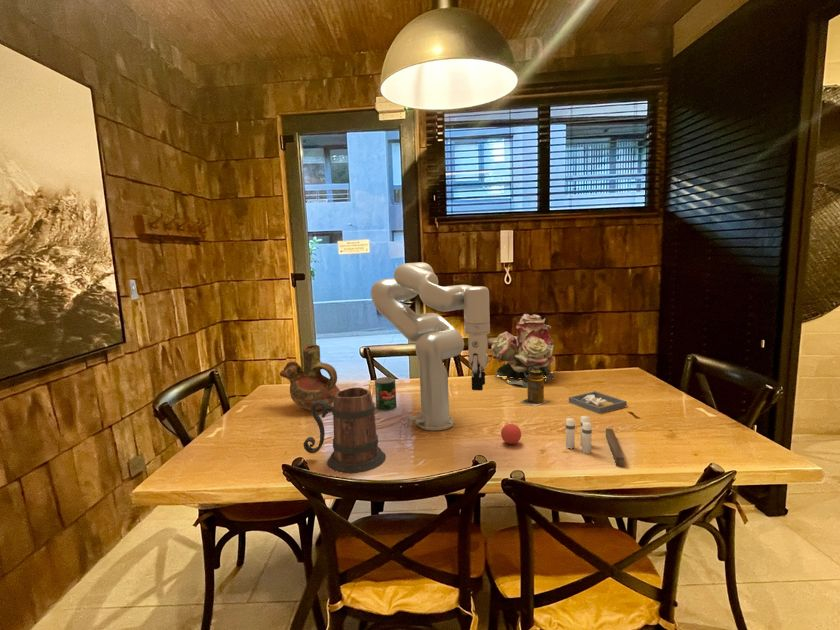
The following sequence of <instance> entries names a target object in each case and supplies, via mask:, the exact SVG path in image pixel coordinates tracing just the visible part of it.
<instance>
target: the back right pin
mask: <svg viewBox="0 0 840 630" xmlns="http://www.w3.org/2000/svg"><path fill="white" fill-rule="evenodd" d="M592 427H593V425H592V423H591V422H590V423H589V422H583V428H582V445H581V446H582V447H581V450H582V453H583V454H585V453H587V454H586V455H590V454H589V453H591V454H592V432H593V428H592Z"/></svg>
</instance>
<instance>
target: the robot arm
mask: <svg viewBox="0 0 840 630" xmlns="http://www.w3.org/2000/svg"><path fill="white" fill-rule="evenodd" d="M416 296H419V299H420V300H421V302H422V303H423V304H424V305H425V306H427V307H429V308H430V309H433V310H436V311H438V312H452V311H458V310H459V311H460V310H463V319H464V320H463V321H464V326H463V327H464V334H465V335H467V336H468V338H467V339H468V341H467V342H468V347H467V348H468V365H469V368H471V377H470V378H471V390H472V391H483V389H484V385H486V372H485V368H486V367H487V366H488V364H489V340H488V334H490V333H491V322H490V321H491V320H490V319H491V318H490V316H491V315H490V290H489V288H488V287H487V286H481V285H480V286H478V285H477V286H476V285H475V286H474V285H473V286H472V285H469V284H458V285H446V286H441V285H439V279H438V276H437V275H436V274H435V272H434V269H433V267H432V266H431V265H430V264H428V263H427V262H422V261H421V262H419V261H418V262H407V263H406V262H405V263H402V264H400V265H398V266H397V267H396V268H395V269H394V272H393V277H391V278H384V279H380V280H377V281H376V282H375V283H373V285H372V286H371V290H370V297H371V301H372V303H373V305H374V307H375V309H376V310H377V311H378V312H379V314H380V315H382V317H383V318H385V319H386V320H388V322H390V323H391V324H392V325H393V326H394V327H395V328H396V330H398V331H399V333H401V334H402V336H404V337H405V339H407V340H408V341H409V342H412V343H415V347H414V348H415V354H416V357H417V361H418V369H419V386H420V388H419V389H420V391H419V393H420V410H419V411H418V414H416V415H414V416H413V415H412V416H408V418H407V421H408V423H409V424H411V423H415V424H416V425H417V426H418V427H419V428H420V429H423V430H426V431H435V432H436V431H443V430H447V429H449V428H451V427H454V425H455V420H454V418H453V417H452V416H450V403H449V402H450V399H449V376H448V375H449V374H448V370H447V367H446V366H445V365H444V363H443V361H444V360H447V359H450V358H453V357H456V356H457V357H458V355H460V354H461V353H463V350H464V348H465V341H464V338H463V336H462V334H461V333H460V331H458V329H456V328H455V327H454V326H453V325H452V324H450V322H449V321H447V320H446V319H445V318H444V317H443V316H442V315H441V314H438V313H436V312H426V313H417V312H415V311H413V310H412V308H411V307H409V305H407V304H405V303H403V302H401V301H407V300H410V299H413V298H415V297H416Z"/></svg>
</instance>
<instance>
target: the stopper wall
mask: <svg viewBox="0 0 840 630" xmlns="http://www.w3.org/2000/svg"><path fill="white" fill-rule="evenodd" d="M605 438H606V442H607V444H608V447H609V450H610V452H612V453H611V456H612V455H613V456H612V458H613V461H614V460H615V461H614V464H615V463H616V464H615V467H622V466H624V467H625V462H626V461H625V459H626V457H625V456H624V452H623V451H622V449H621V446H620V443H619V441H618V438H617V436H616V433H615V432H614V429H613V428H605Z"/></svg>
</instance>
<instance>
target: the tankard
mask: <svg viewBox="0 0 840 630" xmlns="http://www.w3.org/2000/svg"><path fill="white" fill-rule="evenodd" d="M316 405H320V406H322V409H321V413H322V414H321V416H320V415H319V413H318V410H317V411H316ZM375 411H376V404H375V402H374V401H373V397H372V393H371V390H370V389H366V388H364V387H358V386H357V387H347V388H346V389H343V390H340V391H338V392H336V393H335V396H334V403H333V404H332V407H330V406H329V405H328V404H327V403H326V402H324V401H322V400H318V401H316V402H314V404H313V405H312V406H311V411H310V412H311V413H310V414H311V415H312V417H313V419H314V421H315V422H316V424H317V427H318V429H319V442H318V443H319V444H318V445H317V446H316V447H314V446H315V444H316V439H315V438H314V437H312V436H308V437H306V439H305V440H304V441H303V449H304V450H305V451H306V452H307V454H308V453H309V454H316V453H318V452H319V451H320V449H321V448H322V446H323V445H324V440H325V425H324V422H323V420H322V419H323V418H325V417H326V416H327V415H328V413H329V412H331V414H332V416H333V417H332V419H333V421H332V423H333V438H332V447H333V452H332V453H330V457H329V458H328V459H327V461H326V466H327V467H328V469H330V468H331V469H332V471H333V470H334V472H336V471H337V472H336V473H340V472H342V474H360V473H365V472H370V471H372V470H375V469H377V468H378V467H380V466H381V465H383V464H384V462H386V459H387V456H386V454H385V452H384V451H382V448H381V447H379V435H378V434H377V426H376V425H377V424H376V416H375V414H376V413H375ZM331 469H330V470H331Z"/></svg>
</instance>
